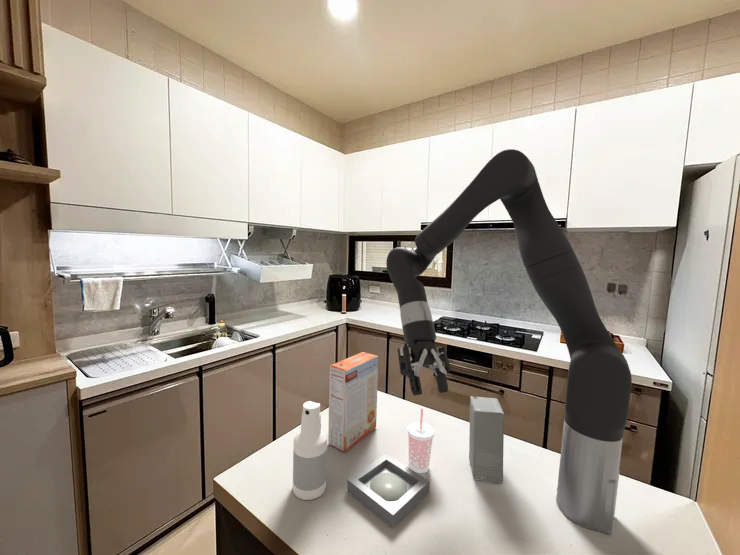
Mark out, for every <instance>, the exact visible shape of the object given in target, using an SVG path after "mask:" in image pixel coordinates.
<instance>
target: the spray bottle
mask: <svg viewBox="0 0 740 555" xmlns="http://www.w3.org/2000/svg"><path fill="white" fill-rule="evenodd" d="M292 455H293V456H292V457H293V459H292V491H293V495H295V497H296V498H298V499H300V500H304V501H311V500H315V499H318V498H319V497H321V496H322V495H323V494H324V493H325V491H326V489H327V472H328V471H327V469H328V468H327V465H328V464H327V463H328V433H327V432H326V431H324V430H323V429H322V413H321V403H320V402H319V403H318V402H314V401H311V400H308V401H305V402H304V403H303V405H302V414H301V423H300V430H299V431H298V432H297V433H296V434H295V435H294V437H293V454H292Z"/></svg>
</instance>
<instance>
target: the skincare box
mask: <svg viewBox="0 0 740 555" xmlns="http://www.w3.org/2000/svg"><path fill="white" fill-rule="evenodd" d="M469 398H470V399H469V439H468V440H469V441H468V442H469V444H468V445H469V446H468V448H469V449H468V450H469V451H468V460H469V465H470V469H471V474H472V479H474V480H478V481H485V482H490V483H496V484H503V483H504V443H505V442H504V441H505V440H504V434H505V430H504V429H505V413H504V410H503V408H502V406H501V404H500V402H499V399H498V397H497V398H495V397H483V396H474V395H473V396H472V395H470V396H469Z"/></svg>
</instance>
